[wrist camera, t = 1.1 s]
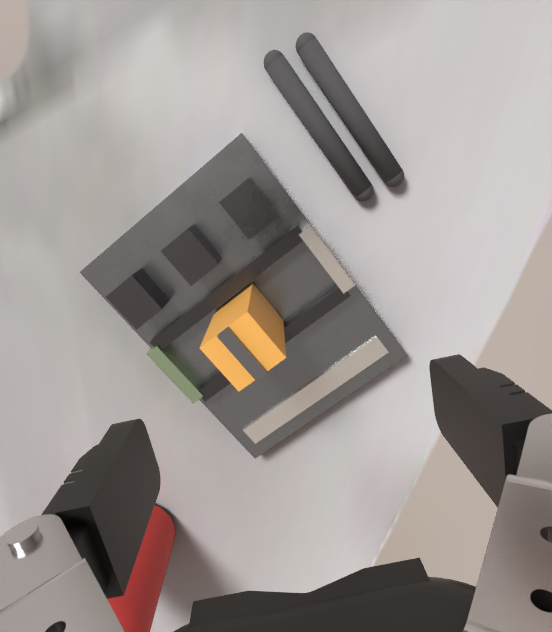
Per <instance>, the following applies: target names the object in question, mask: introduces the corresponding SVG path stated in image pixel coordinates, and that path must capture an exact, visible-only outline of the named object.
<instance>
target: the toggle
mask: <svg viewBox="0 0 552 632" xmlns="http://www.w3.org/2000/svg"><path fill="white" fill-rule="evenodd" d="M200 349H201V351H202V352H203V353H204V354H205V355H206V356H207V357H208V358H209V359H210V361H211V362H212V363H213V364H214V365H215V366H216V367H217V368H218V369H219V370H220V372H221V373H222V374H223V375H224V376H225V377H226V378H227V379H228V380H229V382H230V383H231V384H232V385H233V386H234V387H235V388H236V389H237V390H238V391H241V390H242V389H244V388H245V387H246V386H248V385H249V384H251V383H252V382H253V381H255V380H256V382H257V381H259V380H260V379H261V378H263V377H264V376H266V375H267V372H268V371H269V370H270V369H271V368H273V367H274V366H276V365H277V364H278V363H280V362H281V361H282V360H284V359H285V358H286V348H285V335H284V321H283V319H282V318H281V316H280V315H279V314H278V313H277V312H276V310H275V309H274V308H273V307H272V305H271V304H270V303H269V302H268V301H267V299H266V298H265V297H264V296H263V294H262V293H261V292H260V291H259V290H258V288H257V287H256V286H255V285H254V284H253V283H252V284H250V285H249V286H248V287H246V288H245V289H244V290H243V291H241V292H240V293H239V294H237V295H236V296H235V297H233V298H232V299H231V300H230V301H228V302H227V303H226V304H224V305H223V306H222V307H221V308H219V309H218V310H217V311H215V312H214V315H213V317H212V319H211V322H210V324H209V327H208V329H207V331H206V334H205V336H204V339H203V341H202V343H201V346H200Z"/></svg>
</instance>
